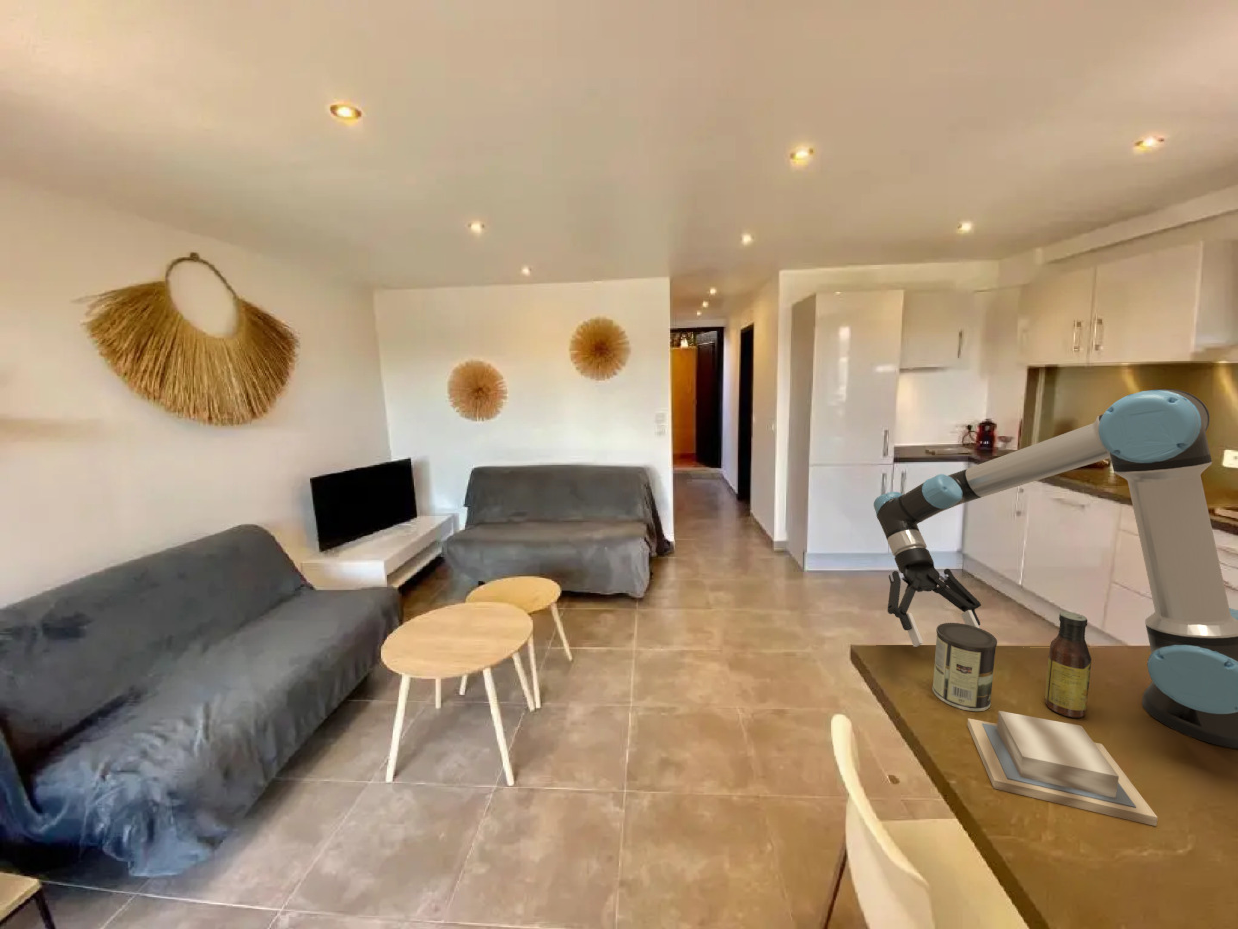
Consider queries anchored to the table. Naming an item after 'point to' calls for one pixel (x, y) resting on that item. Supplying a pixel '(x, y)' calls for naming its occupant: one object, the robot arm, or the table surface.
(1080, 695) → the sauce bottle
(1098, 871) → the table surface
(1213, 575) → the robot arm
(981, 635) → the coffee can
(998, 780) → the plate
